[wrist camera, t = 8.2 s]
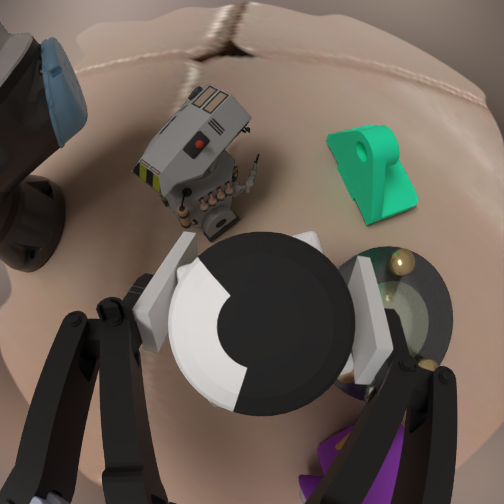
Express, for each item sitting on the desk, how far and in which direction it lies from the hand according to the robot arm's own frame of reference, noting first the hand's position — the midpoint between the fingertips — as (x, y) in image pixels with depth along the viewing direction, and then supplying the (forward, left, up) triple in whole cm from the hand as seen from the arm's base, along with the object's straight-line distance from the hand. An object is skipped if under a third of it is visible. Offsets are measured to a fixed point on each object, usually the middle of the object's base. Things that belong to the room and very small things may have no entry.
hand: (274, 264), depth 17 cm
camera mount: (+11, +15, -16) cm, 25 cm away
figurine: (-8, +10, -16) cm, 21 cm away
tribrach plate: (+14, -3, -16) cm, 21 cm away
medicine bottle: (0, -3, -4) cm, 5 cm away
